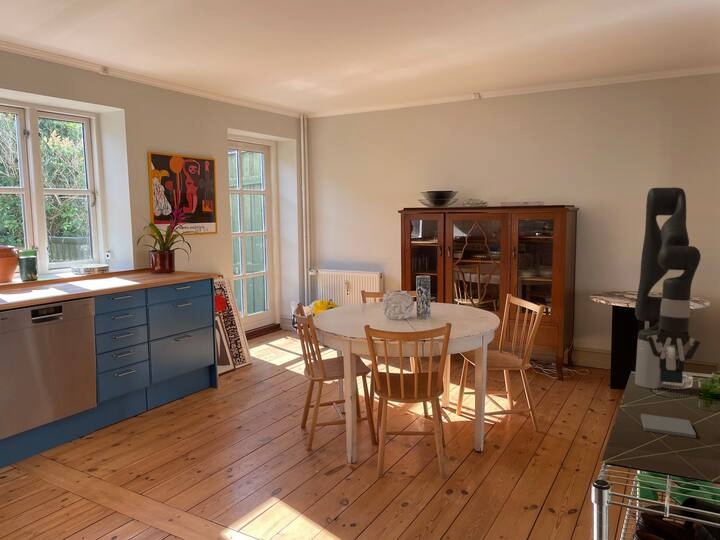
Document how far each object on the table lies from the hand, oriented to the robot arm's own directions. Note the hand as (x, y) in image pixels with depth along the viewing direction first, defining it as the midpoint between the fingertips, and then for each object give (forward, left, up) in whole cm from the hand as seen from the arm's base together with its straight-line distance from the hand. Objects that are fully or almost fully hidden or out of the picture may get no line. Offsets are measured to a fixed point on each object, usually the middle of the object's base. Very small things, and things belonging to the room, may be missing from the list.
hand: (670, 371), depth 160 cm
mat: (0, 0, -17) cm, 17 cm away
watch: (0, 0, -3) cm, 3 cm away
